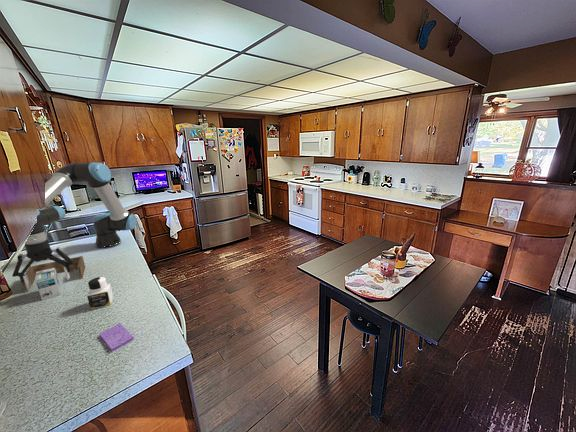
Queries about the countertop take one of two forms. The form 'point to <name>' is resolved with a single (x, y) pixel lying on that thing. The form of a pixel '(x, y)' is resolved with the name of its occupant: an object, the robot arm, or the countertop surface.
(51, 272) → the light bulb box
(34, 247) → the robot arm
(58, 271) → the walnut u-shaped bracket
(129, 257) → the countertop surface
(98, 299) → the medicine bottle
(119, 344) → the sponges
